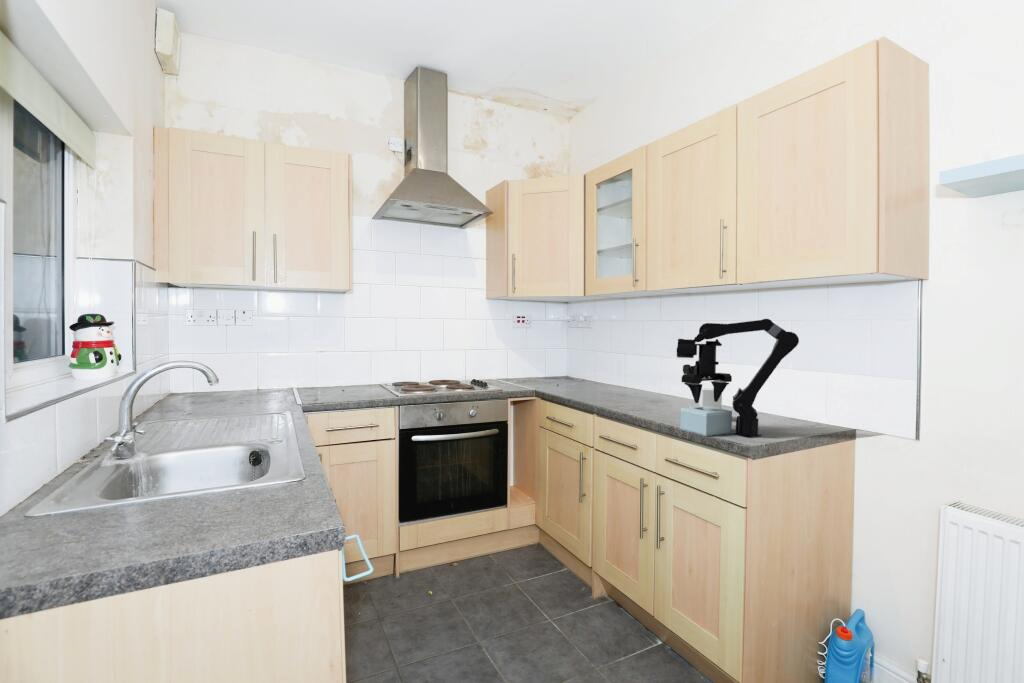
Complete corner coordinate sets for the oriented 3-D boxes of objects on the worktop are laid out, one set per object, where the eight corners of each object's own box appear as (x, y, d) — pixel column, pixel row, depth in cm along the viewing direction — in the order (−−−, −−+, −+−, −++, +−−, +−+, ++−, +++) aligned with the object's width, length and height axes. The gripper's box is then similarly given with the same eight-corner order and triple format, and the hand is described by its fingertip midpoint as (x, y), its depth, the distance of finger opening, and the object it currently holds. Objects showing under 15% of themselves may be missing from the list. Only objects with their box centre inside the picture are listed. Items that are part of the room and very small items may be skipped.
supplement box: (721, 422, 199) (722, 390, 199) (701, 421, 201) (702, 389, 200) (717, 419, 206) (718, 388, 206) (698, 418, 208) (699, 387, 208)
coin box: (731, 433, 178) (731, 410, 178) (706, 436, 173) (706, 413, 173) (705, 427, 189) (705, 405, 189) (680, 429, 184) (680, 407, 184)
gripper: (709, 356, 191) (708, 397, 192) (670, 357, 183) (669, 400, 184) (733, 358, 181) (732, 402, 182) (694, 359, 173) (693, 405, 174)
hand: (706, 402), depth 181 cm, fingers open, 9 cm apart
